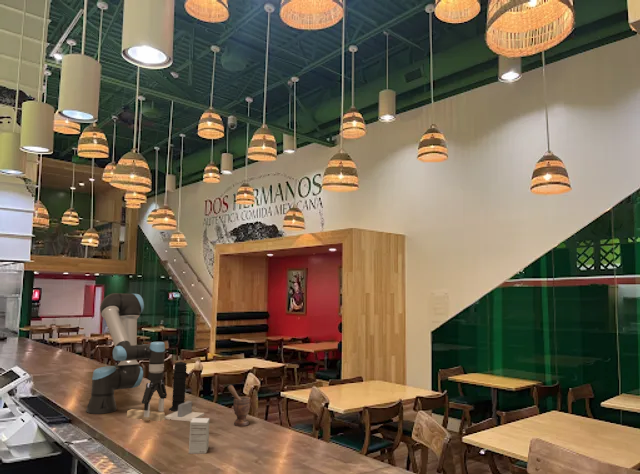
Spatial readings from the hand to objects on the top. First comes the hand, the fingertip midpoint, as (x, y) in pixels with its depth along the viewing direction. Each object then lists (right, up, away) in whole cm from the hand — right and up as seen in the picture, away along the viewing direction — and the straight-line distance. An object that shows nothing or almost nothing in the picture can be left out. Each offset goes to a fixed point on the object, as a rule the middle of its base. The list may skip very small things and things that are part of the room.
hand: (153, 414), depth 257 cm
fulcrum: (+14, -4, +7) cm, 16 cm away
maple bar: (-5, -3, +1) cm, 6 cm away
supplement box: (+35, +2, -49) cm, 60 cm away
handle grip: (+6, -6, +24) cm, 25 cm away
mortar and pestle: (+45, -4, -6) cm, 45 cm away
